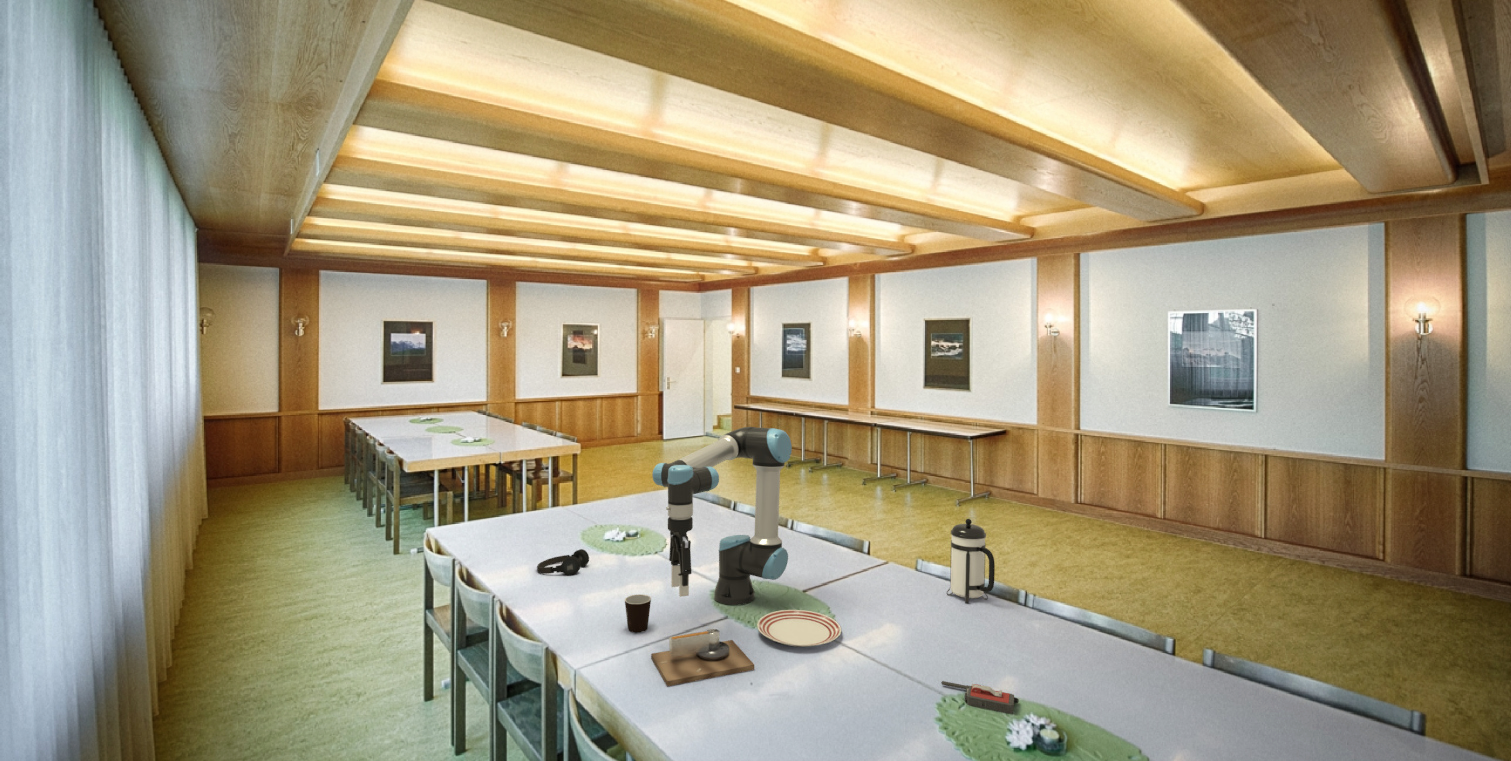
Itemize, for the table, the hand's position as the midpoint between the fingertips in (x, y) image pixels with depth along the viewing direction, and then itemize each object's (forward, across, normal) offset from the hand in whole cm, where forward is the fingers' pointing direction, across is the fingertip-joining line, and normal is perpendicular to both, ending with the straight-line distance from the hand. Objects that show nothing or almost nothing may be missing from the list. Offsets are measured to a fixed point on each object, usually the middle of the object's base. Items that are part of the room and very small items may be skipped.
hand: (679, 590), depth 201 cm
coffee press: (+19, -4, +115) cm, 117 cm away
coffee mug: (+19, -24, -7) cm, 31 cm away
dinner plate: (+20, +2, +40) cm, 45 cm away
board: (+19, +10, +4) cm, 22 cm away
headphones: (+20, -94, -24) cm, 99 cm away
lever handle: (+17, +7, +4) cm, 19 cm away
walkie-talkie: (+20, +56, +66) cm, 89 cm away
